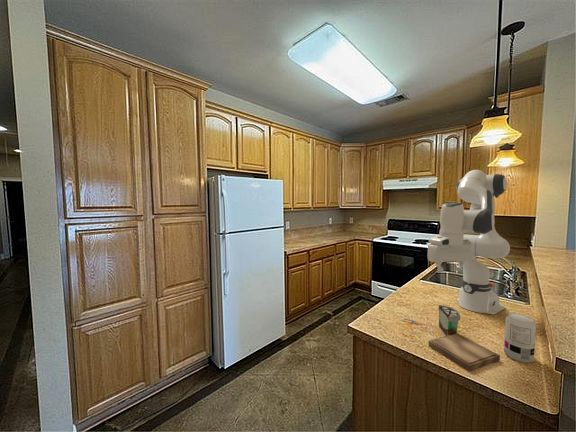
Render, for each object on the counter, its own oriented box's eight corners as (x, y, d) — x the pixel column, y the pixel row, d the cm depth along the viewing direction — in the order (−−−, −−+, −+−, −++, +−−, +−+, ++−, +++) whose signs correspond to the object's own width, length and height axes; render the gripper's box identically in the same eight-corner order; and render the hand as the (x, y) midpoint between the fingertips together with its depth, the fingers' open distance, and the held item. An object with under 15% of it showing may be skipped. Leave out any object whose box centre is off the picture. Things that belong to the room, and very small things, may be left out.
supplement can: (498, 350, 96) (500, 313, 95) (517, 349, 97) (519, 312, 96) (519, 364, 88) (521, 323, 87) (540, 363, 89) (543, 322, 88)
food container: (465, 341, 102) (466, 318, 102) (448, 340, 104) (449, 316, 103) (452, 326, 114) (453, 305, 114) (437, 325, 116) (438, 304, 115)
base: (456, 337, 105) (456, 332, 105) (499, 360, 90) (500, 354, 90) (428, 345, 100) (428, 340, 100) (469, 371, 85) (469, 365, 85)
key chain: (399, 323, 118) (399, 322, 118) (405, 318, 123) (405, 316, 123) (429, 333, 109) (429, 332, 109) (434, 327, 114) (434, 325, 114)
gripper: (464, 238, 113) (463, 268, 114) (425, 239, 109) (424, 270, 110) (477, 240, 107) (476, 272, 108) (436, 241, 103) (435, 274, 104)
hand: (449, 271), depth 109 cm, fingers open, 8 cm apart
